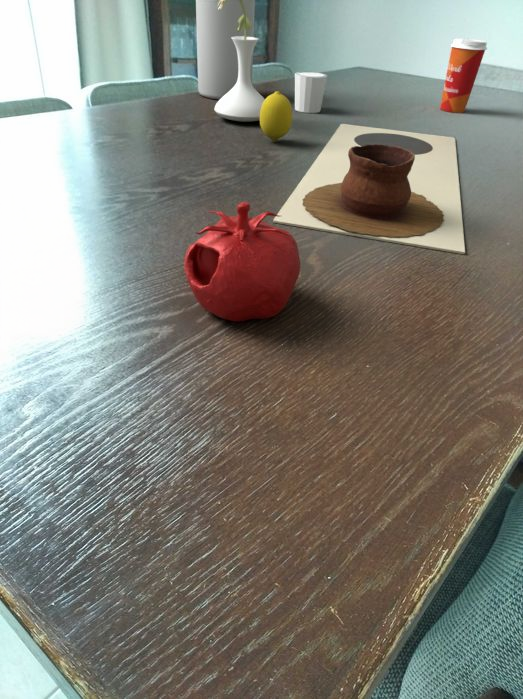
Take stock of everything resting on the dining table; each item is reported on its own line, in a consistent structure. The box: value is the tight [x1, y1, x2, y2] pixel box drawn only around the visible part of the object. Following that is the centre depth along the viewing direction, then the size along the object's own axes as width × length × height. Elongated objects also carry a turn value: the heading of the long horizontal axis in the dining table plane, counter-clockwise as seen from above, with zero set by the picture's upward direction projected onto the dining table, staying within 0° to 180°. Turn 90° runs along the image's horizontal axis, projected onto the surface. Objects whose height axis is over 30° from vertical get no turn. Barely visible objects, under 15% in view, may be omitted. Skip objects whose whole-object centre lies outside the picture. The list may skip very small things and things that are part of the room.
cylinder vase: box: [195, 0, 256, 101], centre depth 108 cm, size 12×12×25 cm
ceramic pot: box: [303, 144, 444, 237], centre depth 61 cm, size 18×18×7 cm
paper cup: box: [439, 38, 488, 114], centre depth 112 cm, size 8×8×14 cm
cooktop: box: [272, 123, 466, 255], centre depth 76 cm, size 22×52×1 cm, turn 164°
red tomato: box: [183, 201, 301, 322], centre depth 42 cm, size 10×10×9 cm
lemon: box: [259, 90, 293, 143], centre depth 84 cm, size 6×6×8 cm
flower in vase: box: [214, 0, 266, 123], centre depth 90 cm, size 13×11×25 cm
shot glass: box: [294, 71, 328, 114], centre depth 106 cm, size 7×7×7 cm
